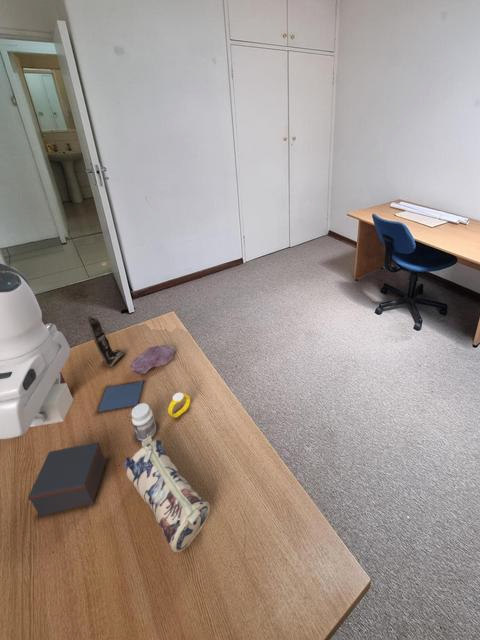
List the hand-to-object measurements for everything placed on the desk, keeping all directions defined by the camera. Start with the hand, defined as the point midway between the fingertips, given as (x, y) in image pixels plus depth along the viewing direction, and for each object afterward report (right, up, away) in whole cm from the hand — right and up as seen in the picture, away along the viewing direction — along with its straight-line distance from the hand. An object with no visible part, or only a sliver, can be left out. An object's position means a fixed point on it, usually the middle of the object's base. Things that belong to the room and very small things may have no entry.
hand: (48, 407), depth 65 cm
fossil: (+3, -7, +40) cm, 41 cm away
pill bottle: (+10, -16, +19) cm, 27 cm away
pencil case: (+22, -23, +5) cm, 32 cm away
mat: (-1, -12, +29) cm, 31 cm away
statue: (-10, -6, +41) cm, 43 cm away
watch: (+17, -14, +24) cm, 33 cm away
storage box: (0, -21, +8) cm, 23 cm away
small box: (0, -1, +1) cm, 2 cm away
